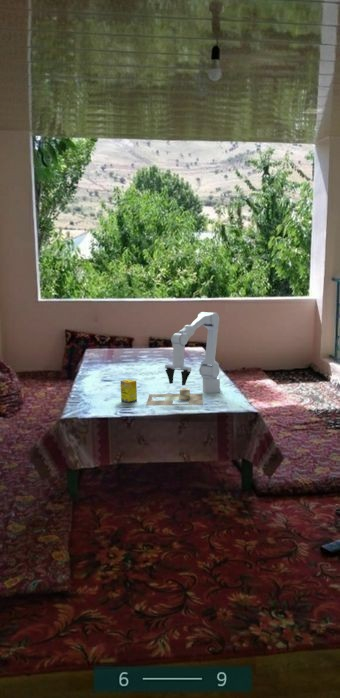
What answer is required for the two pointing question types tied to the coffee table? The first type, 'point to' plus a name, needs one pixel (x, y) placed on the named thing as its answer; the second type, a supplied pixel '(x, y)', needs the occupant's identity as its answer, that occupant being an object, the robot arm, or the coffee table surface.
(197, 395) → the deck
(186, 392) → the block
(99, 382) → the coffee table surface
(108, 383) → the coffee table surface
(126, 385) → the supplement box
